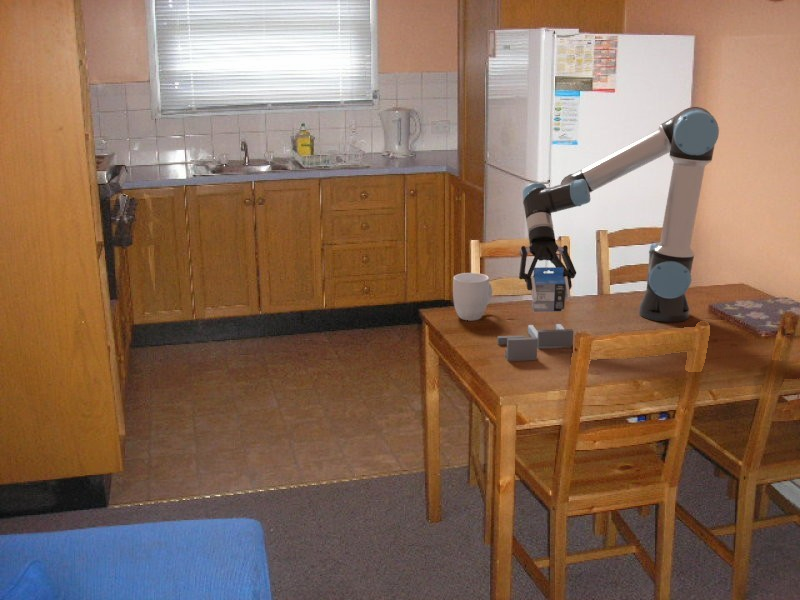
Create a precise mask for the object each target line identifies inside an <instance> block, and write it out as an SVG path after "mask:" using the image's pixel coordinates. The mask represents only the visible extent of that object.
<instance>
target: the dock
mask: <svg viewBox="0 0 800 600" xmlns="http://www.w3.org/2000/svg"><path fill="white" fill-rule="evenodd" d="M534 326H535V325H533V324H528V325H527V335H528V336H529V338H530V337H536V338H537V339H538V341H537V350H539V349H540V350H541V349H563V348H562V347H572V346H574V345H573V344H574V330H573V328H564V326H563V325H562V324H561V323H555V329H538V330H537V329H536V327H534Z"/></svg>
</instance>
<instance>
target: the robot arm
mask: <svg viewBox="0 0 800 600" xmlns="http://www.w3.org/2000/svg"><path fill="white" fill-rule="evenodd" d="M719 133H720V128H719V124H718V122H717V120H716V118H715V117H714V116H713V114H711V113H710V111H708V110H707V109H706V108H702V107H699V106H691V107H687V108H685V109H683V110H681V111H680V112H678V113H677V114H676V115H674V116H673V117H671V118H670V119H668V120H666V121H664V122H663V123H660V124H659V126H658V129H656V130H655V131H652V132H651V133H649V134H647V135H645V136H643V137H642V138H639V139H637V140H635V141H633V142H632V143H630V144H628V145H626V146H624V147H622V148H620V149H619V150H617V151H615V152H613V153H611V154H609V155H606V156H605V157H603V158H600V159H599V160H597V161H595V162H593V163H592V164H589V165H588V166H586V167H584V168H582V169H580V170H578V171H576V172H574V173H571V174H568V175H566V176H564V177H563V179H561V182H560V184H558V185H554V186H552V187H551V186H549V187H547V186H546V185H545V184H544V183H541V182H537V183H536V182H531V183H530V184H527V185H526V186H525V187H524V189H523V191H522V199H523V200H522V204H523V208H524V209H523V210H524V214H525V215H524V216H525V221H526V226H527V227H526V228H527V233H528V234H527V237H528V241H529V243H528V244H529V246H527V247H526V246H525V245H522V246H521V247H520V249H519V253H520V257H521V258H520V265H519V273H518V279H519V280H523V281H525V285H526V288H527V289H526V290H527V291H530V293H531V294H530V295H531V303H532V302H535V301H536V298H537V294H536V288H535V281H534V277H533V274H534V268H536V266H537V263H538V261H540V262H541V261H550V263H551V264H553V265H554V267H564V270H563V276H564V280H565V284H566V288H565V302H569V300H570V298H571V292H570V290H571V289H572V287H573V283H572V279H574V278H575V277H576V275H577V271H576V268H575V266H574V264H573V262H572V259H571V257H570V254H569V252H568V245H563V246H559V245H558V244H557V242H556V235H555V230H554V224H553V219H552V214H553V213H557V212H560V211H563V210H567V209H568V210H569V209H572V208H575V207H581V206H582V205H586V204H588V203H590V202H591V193H592V192H594V191H596V190H597V189H600V188H602V187H604V186H606V185H607V184H609V183H612V182H613V181H616V180H617V179H619V178H622V177H623V176H625V175H627V174H629V173H631V172H633V171H636V170H637V169H639V168H641V167H643V166H645V165H647V164H649V163H651V162H653V161H655V160H656V159H659V158H662V157H663V156H665V155H667V154H669V158H670V159H671V160H672V161H673V165H672V171H671V177H670V182H669V188H668V192H667V193H668V194H667V198H666V203H665V204H666V205H665V209H664V210H665V211H664V217H663V223H662V228H661V233H660V241H659V242H653V243H651V244H650V247H649V250H648V254H649V256H648V268H647V269H648V270H647V279H646V280H647V282H646V290H645V292H644V295H643V297H642V299H641V302H640V304H639V309H638V314H639V315H640V317H643V318H644V319H647V320H650V321H655V322H664V323H674V322H675V323H676V322H679V323H680V322H683V321H687V320H688V319H689V318H690V307H689V303H688V297H687V295H686V293H687V291H688V290H689V289H690V286H691V284H692V274H691V273H692V269H693V263H694V258H695V253H694V251H693V250H692V249H691V243H692V238H693V232H694V226H695V221H696V216H697V211H698V205H699V201H700V200H699V199H700V195H701V191H702V190H701V189H702V184H703V177H704V173H705V168H706V166H707V165H708V164H709V163H712V160H713V157H714V156H713V155H714V150H715V145H716V143H717V141H718V139H719V135H720V134H719ZM557 252H558V253H559V255H561V258H562V260H561V259H560V258H559V256H558V254H557ZM529 253H530V254H531V255H532V256H534V258H533V259H532V262H531V264H530V266H529V269H528V271H527V273H526V267H527V265H526V264H527V256H528V254H529ZM562 261H563V262H562Z"/></svg>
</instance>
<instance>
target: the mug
mask: <svg viewBox="0 0 800 600" xmlns="http://www.w3.org/2000/svg"><path fill="white" fill-rule="evenodd" d="M452 279H453V283H452V298H453V306H454V309H455V312H456V314H457V315H458V318H459V319H460V320H463V321H467V320H468V322H469V321H470V322H471V321H472V322H473V321H479V320H480V319H482V318H483V315H484V314H485V311H486V309H487V306H488V304H489V303H490V301H491V300H492V297H493V287H492V284H491V283H490V278H489V276H488V275H486V274H484V273H478V272H462V273H458V274H455V275H454V276H453V278H452Z"/></svg>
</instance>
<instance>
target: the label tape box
mask: <svg viewBox="0 0 800 600" xmlns="http://www.w3.org/2000/svg"><path fill="white" fill-rule="evenodd" d="M563 270H564V267H555V266H554V267H541V266H540V267H535V268H534V270H533V274H532V277H534V281H535V288H536V294H537V298H536V301H535V302H532V301H531V309H532V311H533V312H536V313H537V312H538V313H539V312H544V313H545V312H550V313H551V312H565V307H566V306H565V303H566V300H565V288H566V284H565V280H564V276H563ZM549 271H550V272H549ZM545 272H546V273H545Z"/></svg>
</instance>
